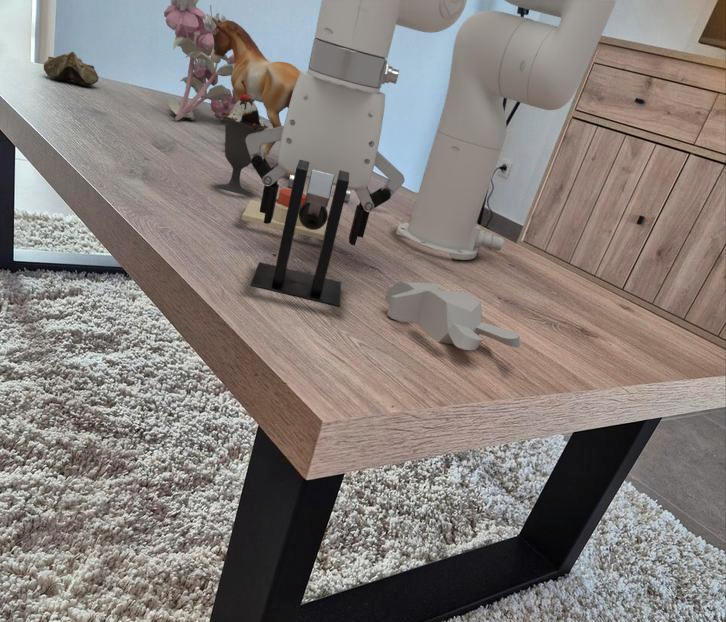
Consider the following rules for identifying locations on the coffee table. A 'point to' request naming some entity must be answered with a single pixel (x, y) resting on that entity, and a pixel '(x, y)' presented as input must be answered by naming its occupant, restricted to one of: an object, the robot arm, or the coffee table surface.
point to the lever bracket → (279, 275)
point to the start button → (287, 197)
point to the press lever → (316, 200)
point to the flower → (199, 59)
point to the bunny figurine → (444, 315)
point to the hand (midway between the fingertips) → (310, 231)
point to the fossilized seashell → (70, 69)
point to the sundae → (240, 138)
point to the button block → (278, 219)
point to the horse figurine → (255, 72)
